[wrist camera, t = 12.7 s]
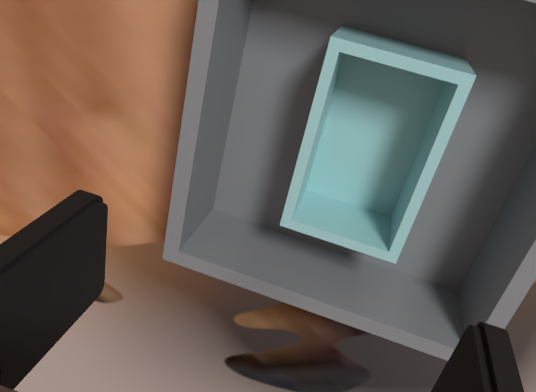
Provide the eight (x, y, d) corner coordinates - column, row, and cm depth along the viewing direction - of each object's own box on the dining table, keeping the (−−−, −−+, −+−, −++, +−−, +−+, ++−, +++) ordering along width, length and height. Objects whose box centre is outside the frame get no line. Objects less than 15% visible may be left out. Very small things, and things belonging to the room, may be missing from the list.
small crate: (342, 25, 27) (330, 35, 23) (465, 57, 26) (476, 75, 22) (296, 190, 32) (279, 225, 28) (397, 222, 31) (395, 263, 27)
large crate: (257, -89, 27) (213, -106, 21) (626, 2, 24) (701, 14, 18) (203, 210, 36) (162, 259, 30) (464, 298, 34) (477, 371, 28)
